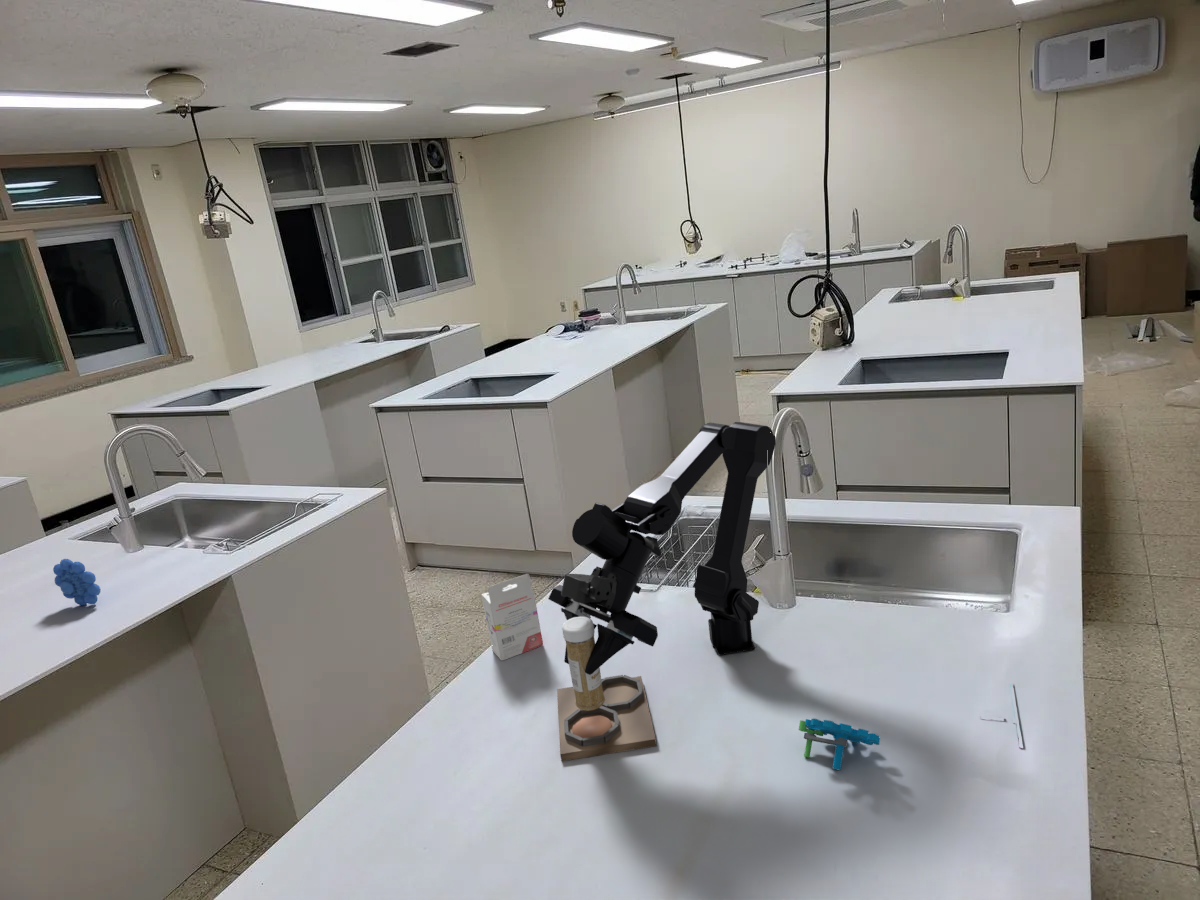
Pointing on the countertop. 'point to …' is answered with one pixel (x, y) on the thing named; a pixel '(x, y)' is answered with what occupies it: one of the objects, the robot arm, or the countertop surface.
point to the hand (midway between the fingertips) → (577, 668)
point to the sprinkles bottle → (583, 663)
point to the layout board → (605, 720)
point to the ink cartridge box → (512, 617)
